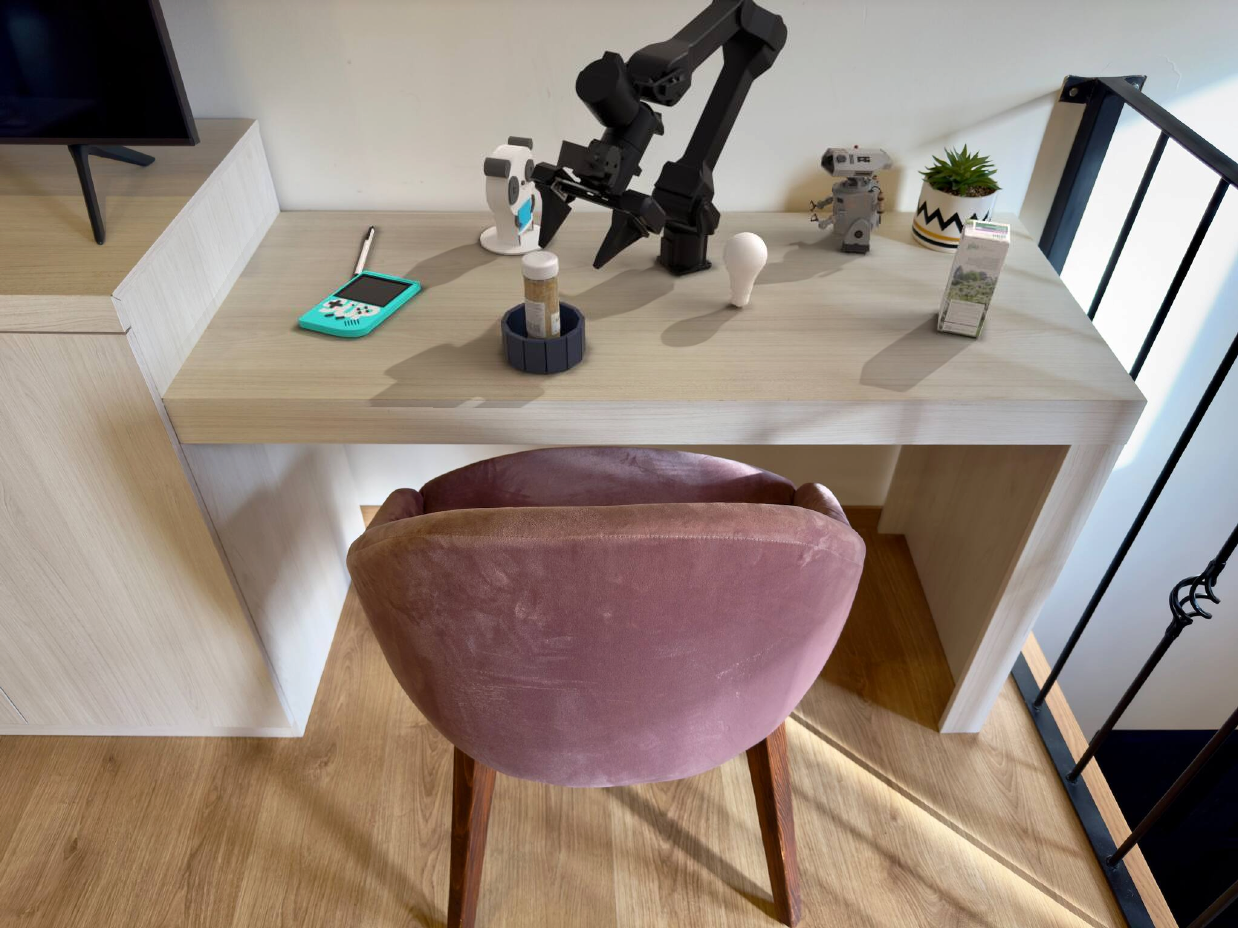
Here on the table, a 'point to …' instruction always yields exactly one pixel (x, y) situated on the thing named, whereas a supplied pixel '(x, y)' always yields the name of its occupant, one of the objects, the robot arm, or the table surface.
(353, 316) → the handheld game console
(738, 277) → the lightbulb
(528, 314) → the sprinkles bottle
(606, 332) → the table surface
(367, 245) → the pen
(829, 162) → the figurine
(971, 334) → the syrup box
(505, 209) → the panda figurine
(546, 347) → the pot
